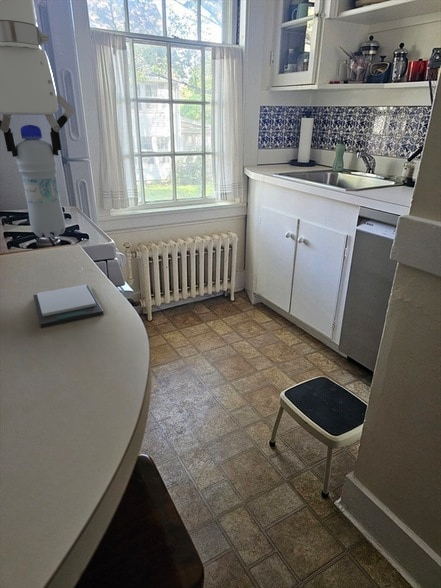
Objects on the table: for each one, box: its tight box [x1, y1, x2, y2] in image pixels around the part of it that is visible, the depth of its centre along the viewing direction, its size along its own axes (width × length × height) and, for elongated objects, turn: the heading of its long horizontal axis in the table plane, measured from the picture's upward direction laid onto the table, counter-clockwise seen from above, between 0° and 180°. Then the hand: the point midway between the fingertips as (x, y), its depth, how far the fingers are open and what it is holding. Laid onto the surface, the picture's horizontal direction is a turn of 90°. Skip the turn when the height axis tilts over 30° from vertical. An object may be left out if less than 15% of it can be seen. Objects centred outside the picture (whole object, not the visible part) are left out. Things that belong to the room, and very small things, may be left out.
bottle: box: [15, 124, 66, 238], centre depth 73 cm, size 7×7×20 cm
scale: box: [33, 284, 105, 329], centre depth 77 cm, size 14×11×3 cm
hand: (35, 154), depth 71 cm, fingers closed on bottle, 6 cm apart
